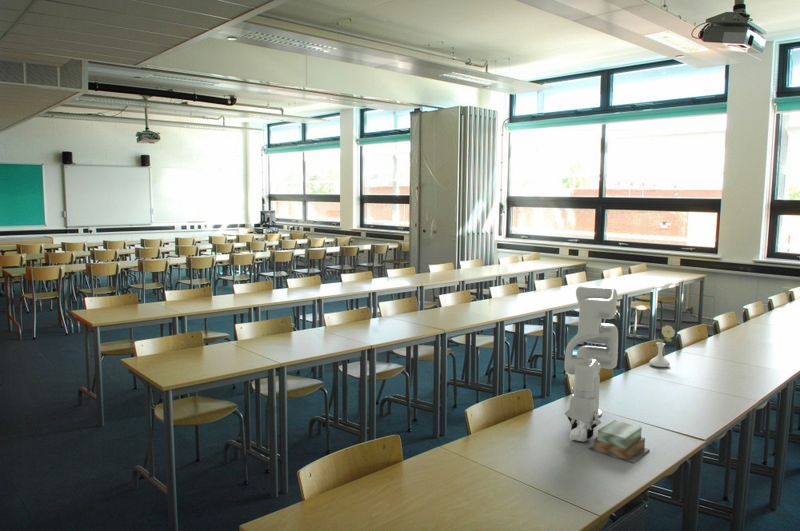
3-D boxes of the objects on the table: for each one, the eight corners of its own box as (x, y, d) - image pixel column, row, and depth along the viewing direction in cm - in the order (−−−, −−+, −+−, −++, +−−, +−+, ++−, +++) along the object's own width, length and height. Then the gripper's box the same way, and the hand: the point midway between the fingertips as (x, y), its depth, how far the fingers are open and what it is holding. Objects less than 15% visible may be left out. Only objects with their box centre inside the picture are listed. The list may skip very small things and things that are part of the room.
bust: (572, 448, 237) (587, 433, 230) (560, 432, 241) (575, 417, 235) (590, 441, 244) (605, 426, 237) (579, 426, 248) (594, 411, 241)
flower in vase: (650, 367, 344) (652, 326, 341) (648, 362, 355) (650, 322, 352) (674, 369, 340) (676, 327, 337) (671, 364, 351) (673, 323, 348)
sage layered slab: (588, 449, 231) (589, 427, 230) (605, 438, 242) (606, 417, 241) (633, 463, 219) (634, 440, 218) (649, 451, 230) (650, 429, 229)
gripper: (559, 390, 241) (558, 432, 243) (599, 400, 229) (597, 444, 231) (568, 386, 246) (567, 427, 248) (608, 395, 234) (606, 438, 236)
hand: (582, 435), depth 240 cm, fingers closed on bust, 6 cm apart
